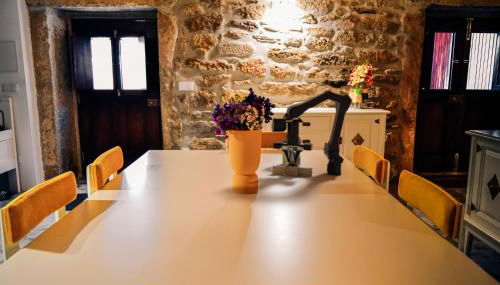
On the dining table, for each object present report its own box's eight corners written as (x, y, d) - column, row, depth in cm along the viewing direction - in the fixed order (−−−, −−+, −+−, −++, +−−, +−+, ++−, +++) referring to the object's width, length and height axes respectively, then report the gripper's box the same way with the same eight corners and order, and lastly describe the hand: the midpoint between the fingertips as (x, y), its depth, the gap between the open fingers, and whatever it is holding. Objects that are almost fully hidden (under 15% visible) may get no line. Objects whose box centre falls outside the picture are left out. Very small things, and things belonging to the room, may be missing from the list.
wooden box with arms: (312, 174, 183) (313, 164, 182) (311, 178, 176) (311, 167, 176) (274, 171, 188) (274, 162, 187) (271, 175, 182) (271, 165, 181)
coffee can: (299, 162, 208) (300, 138, 205) (301, 167, 197) (302, 141, 195) (281, 162, 208) (281, 138, 205) (282, 167, 198) (282, 141, 195)
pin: (295, 166, 182) (296, 150, 181) (294, 168, 180) (295, 152, 178) (289, 166, 183) (290, 150, 182) (288, 167, 180) (289, 151, 179)
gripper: (314, 130, 183) (313, 160, 186) (277, 128, 188) (277, 158, 191) (311, 133, 173) (310, 165, 176) (272, 131, 178) (272, 163, 181)
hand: (292, 163), depth 181 cm, fingers closed on pin, 3 cm apart
